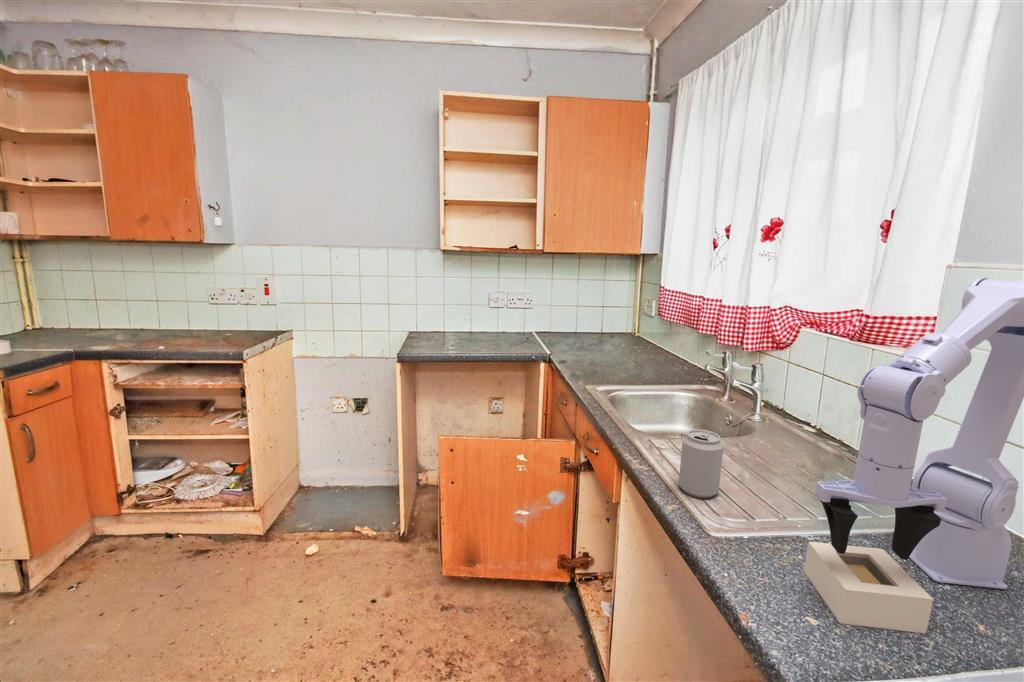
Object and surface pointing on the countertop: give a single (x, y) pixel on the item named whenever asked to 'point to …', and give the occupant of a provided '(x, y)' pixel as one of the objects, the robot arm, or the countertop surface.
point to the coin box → (868, 589)
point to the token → (863, 574)
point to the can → (701, 463)
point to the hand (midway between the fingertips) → (868, 552)
